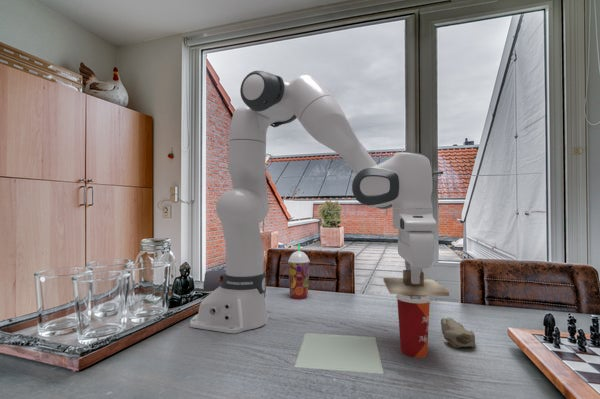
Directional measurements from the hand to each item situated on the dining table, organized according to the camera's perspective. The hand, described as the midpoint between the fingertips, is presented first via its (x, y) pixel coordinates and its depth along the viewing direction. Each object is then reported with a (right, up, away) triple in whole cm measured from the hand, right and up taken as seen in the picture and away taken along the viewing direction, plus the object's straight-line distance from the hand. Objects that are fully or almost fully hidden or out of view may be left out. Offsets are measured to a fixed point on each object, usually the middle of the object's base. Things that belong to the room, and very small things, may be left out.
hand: (412, 281), depth 72 cm
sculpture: (+14, -17, +8) cm, 23 cm away
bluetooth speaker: (-51, -18, +47) cm, 72 cm away
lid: (0, -2, 0) cm, 2 cm away
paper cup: (0, -17, -1) cm, 17 cm away
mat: (-17, -17, 0) cm, 24 cm away
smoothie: (-26, -18, +46) cm, 56 cm away
